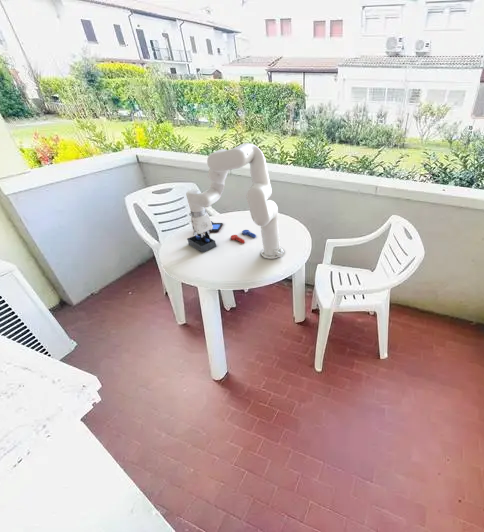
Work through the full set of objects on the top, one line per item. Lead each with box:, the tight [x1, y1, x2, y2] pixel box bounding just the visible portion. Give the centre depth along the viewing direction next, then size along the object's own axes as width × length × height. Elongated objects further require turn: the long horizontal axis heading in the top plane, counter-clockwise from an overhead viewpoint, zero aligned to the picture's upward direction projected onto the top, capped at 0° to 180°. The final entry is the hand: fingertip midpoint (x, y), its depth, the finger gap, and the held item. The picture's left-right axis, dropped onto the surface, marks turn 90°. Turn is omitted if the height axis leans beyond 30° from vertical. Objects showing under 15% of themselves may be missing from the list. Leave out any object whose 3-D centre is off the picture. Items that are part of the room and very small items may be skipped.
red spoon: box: [230, 234, 246, 244], centre depth 175 cm, size 12×4×2 cm, turn 51°
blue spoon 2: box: [241, 229, 257, 238], centre depth 181 cm, size 12×4×2 cm, turn 52°
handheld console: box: [210, 220, 224, 233], centre depth 187 cm, size 12×11×7 cm
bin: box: [186, 234, 217, 254], centre depth 169 cm, size 15×9×4 cm, turn 52°
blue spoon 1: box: [196, 236, 210, 243], centre depth 169 cm, size 12×4×2 cm, turn 52°
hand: (206, 240), depth 168 cm, fingers closed on blue spoon 1, 2 cm apart
